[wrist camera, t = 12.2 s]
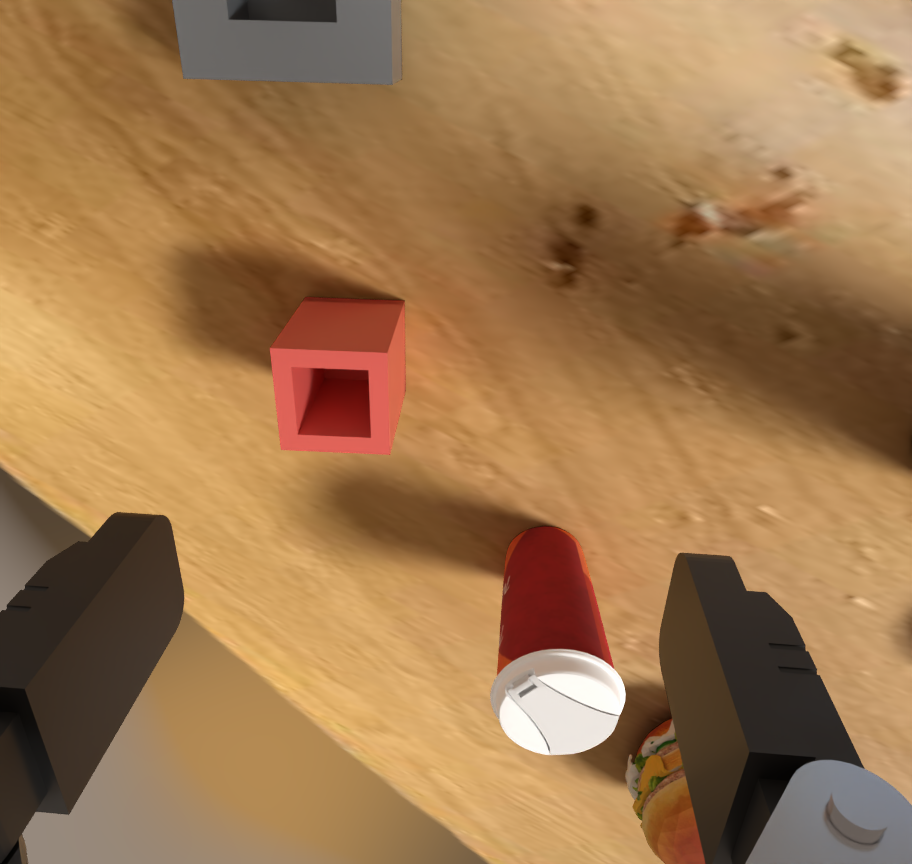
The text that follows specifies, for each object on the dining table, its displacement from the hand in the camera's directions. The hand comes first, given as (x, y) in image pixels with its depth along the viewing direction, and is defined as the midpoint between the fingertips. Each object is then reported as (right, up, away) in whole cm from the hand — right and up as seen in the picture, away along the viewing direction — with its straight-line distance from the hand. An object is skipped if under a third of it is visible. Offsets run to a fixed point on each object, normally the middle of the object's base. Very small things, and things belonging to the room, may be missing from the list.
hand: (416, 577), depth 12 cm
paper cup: (+7, -7, +41) cm, 42 cm away
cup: (-6, +8, +34) cm, 35 cm away
